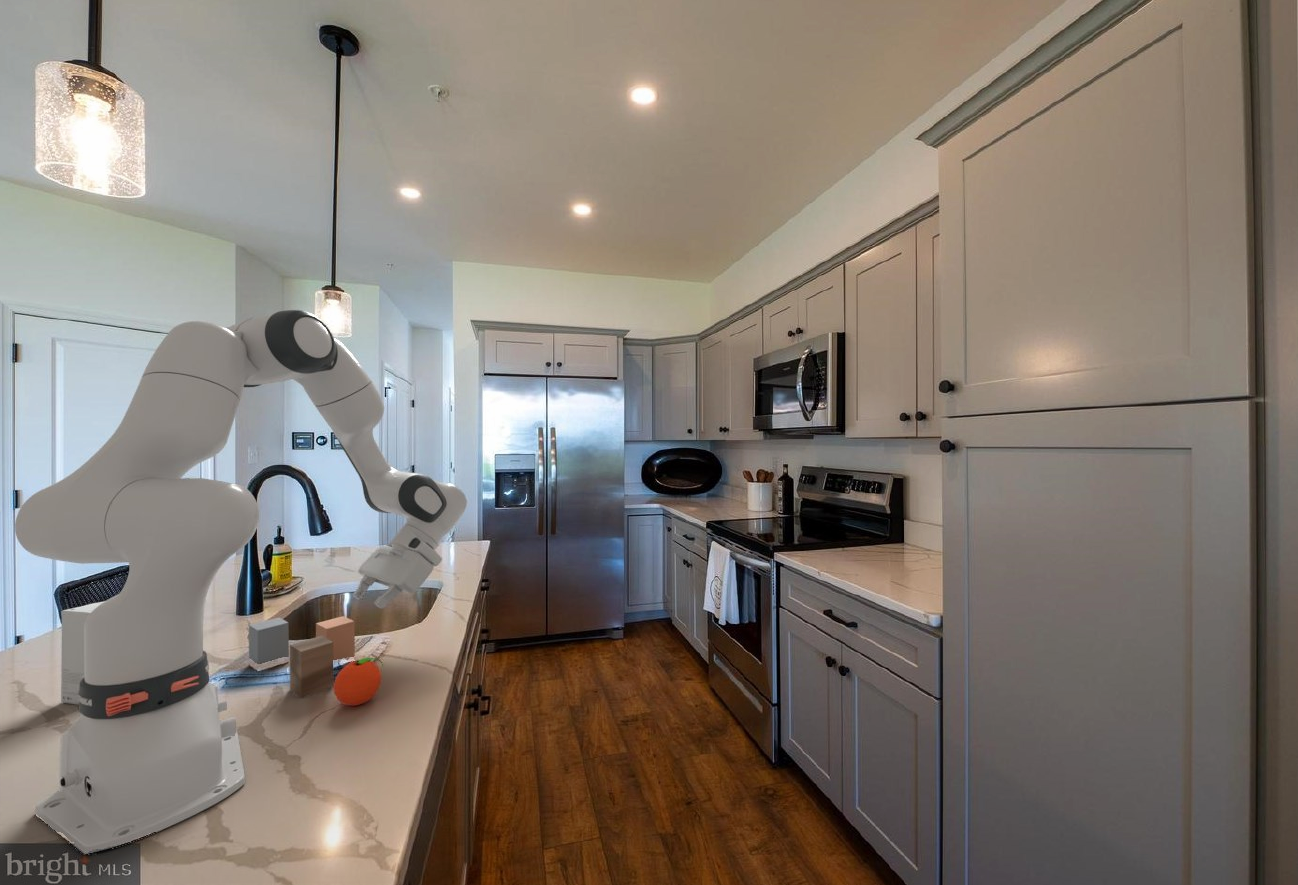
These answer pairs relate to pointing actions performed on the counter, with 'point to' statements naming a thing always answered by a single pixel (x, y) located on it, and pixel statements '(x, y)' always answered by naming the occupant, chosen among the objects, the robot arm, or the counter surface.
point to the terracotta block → (339, 636)
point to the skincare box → (73, 651)
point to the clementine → (357, 682)
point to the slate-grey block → (268, 640)
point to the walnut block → (311, 666)
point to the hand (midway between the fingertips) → (366, 602)
